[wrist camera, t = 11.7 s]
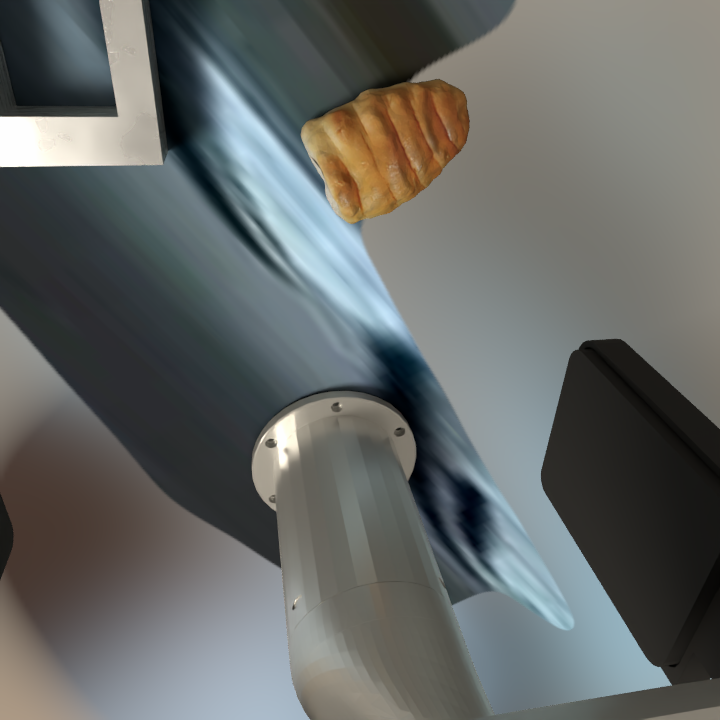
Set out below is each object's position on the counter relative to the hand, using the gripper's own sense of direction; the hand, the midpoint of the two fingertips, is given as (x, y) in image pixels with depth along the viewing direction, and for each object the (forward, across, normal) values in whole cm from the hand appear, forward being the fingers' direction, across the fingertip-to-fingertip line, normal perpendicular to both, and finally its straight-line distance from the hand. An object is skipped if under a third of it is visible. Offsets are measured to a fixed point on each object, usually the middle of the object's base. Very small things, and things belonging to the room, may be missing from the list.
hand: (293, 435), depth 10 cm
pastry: (+29, -7, +2) cm, 30 cm away
